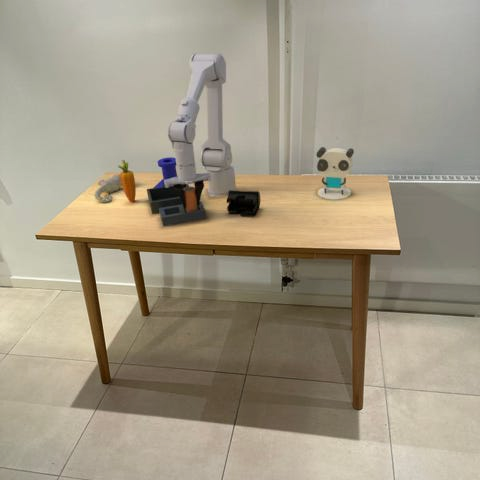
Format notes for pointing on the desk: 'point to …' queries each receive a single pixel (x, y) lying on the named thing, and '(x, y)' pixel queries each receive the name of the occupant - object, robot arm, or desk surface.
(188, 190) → the tube
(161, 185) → the mount
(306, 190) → the desk surface
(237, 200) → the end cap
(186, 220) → the rack
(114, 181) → the seahorse
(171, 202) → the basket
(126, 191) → the carrot
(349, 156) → the panda figurine
